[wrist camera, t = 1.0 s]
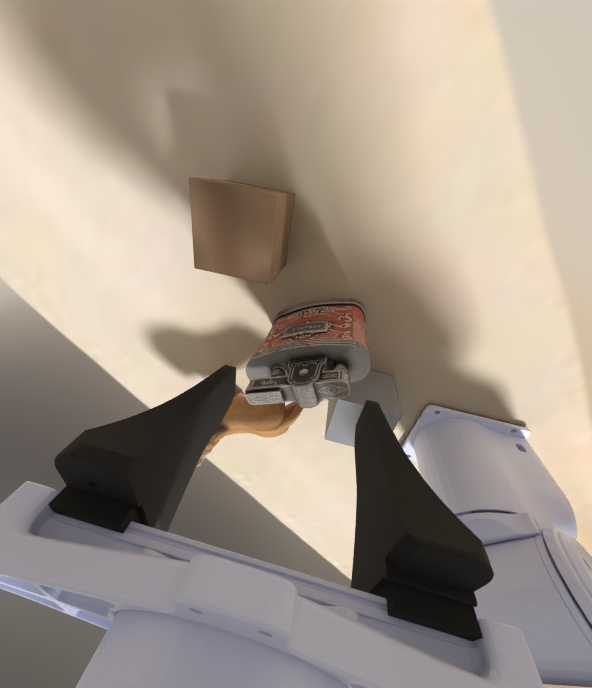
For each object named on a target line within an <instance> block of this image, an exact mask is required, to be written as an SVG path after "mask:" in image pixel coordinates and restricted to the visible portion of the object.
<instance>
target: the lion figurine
mask: <svg viewBox="0 0 592 688" xmlns="http://www.w3.org/2000/svg"><path fill="white" fill-rule="evenodd" d="M302 410H303V408H302V407H300V406H299V405H298V403H296V402H292V403H290V404H288V405H286V406H285V402H284V403H273V404H260V405H251V404H249V402H248V400H247V399H246V397H245V396H244V394H243V393H236V394H235V396H234V398H233V401H232V403H231V405H230V407H229V409H228V411H227V413H226V415H225V416H224V418H223V420H222V421H221V423H220V425H219V426H218V428H217V430H216V431H215V433H214V434H213V436H212V438H211V439H210V441H209V443H208V444H207V446H206V448H205V450H204V451H203V453H202V455H201V457H200V459H199V461H198V464H197V466H196V467H198V466H200V465H201V464H202V462H203V460H204V458H205V457H206V455H207V454H209V453H210V452H211V450H212V448H213V447H214V446H215V445H216V444H217V443H218V442H219V440H220V439H221V438H223V437H224V436H226V435H230V434H237V433H253V434H256V435H259V436H262V437H276V436H279V435H282V434H284V433H285V432H286V431H287V430H288V428H289V427H290V425H291V424H292V423H293V422H294V421H295V420H296V419H297V418H298V416H299V415H300V413H301V411H302Z"/></svg>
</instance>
